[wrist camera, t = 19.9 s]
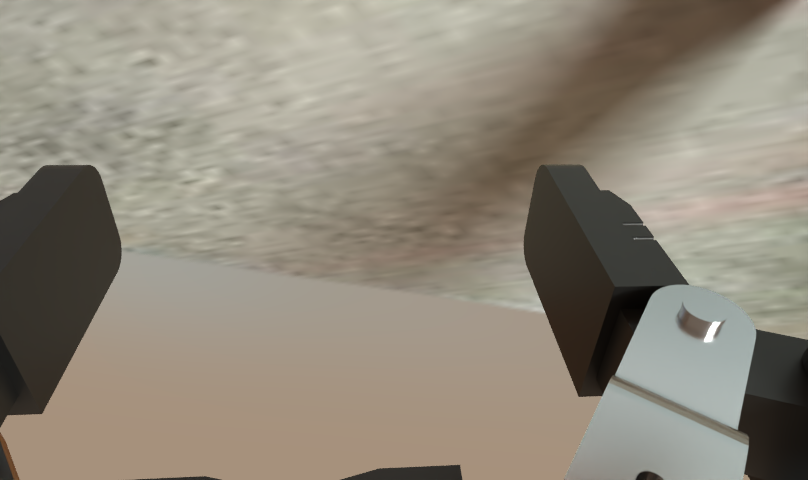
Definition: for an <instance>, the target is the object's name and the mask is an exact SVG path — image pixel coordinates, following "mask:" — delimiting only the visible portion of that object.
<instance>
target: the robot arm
mask: <svg viewBox="0 0 808 480" xmlns="http://www.w3.org/2000/svg"><path fill="white" fill-rule="evenodd" d="M653 237H654V236H653V235H652V234H651V232H650V231H649V230H648V228H647V227H646V226H643V221H642V220H641V219H640V217H639V216H638V215H637V213H636V212H635V211H634V209H633V208H632V206H631V205H630V204H628V203H627V202H625V201H624V200H622V199H621V198H619V197H618V196H616V195H615V194H613V193H612V192H610V191H609V190H601V191H600V190H599V188H598V187H597V185H596V184H595V182H594V181H593V179H592V178H591V176H590V175H589V173H588V172H587V170H586V169H585V168H584V166H582V165H541V166H540V167H539V169H538V171H537V174H536V178H535V183H534V188H533V193H532V198H531V203H530V208H529V214H528V219H527V224H526V229H525V235H524V255H525V261H526V265H527V267H528V270H529V272H530V275H531V278H532V280H533V283H534V285H535V288H536V290H537V293H538V295H539V298H540V300H541V303H542V305H543V308H544V310H545V313H546V315H547V318H548V320H549V323H550V325H551V328H552V330H553V333H554V335H555V338H556V341H557V343H558V345H559V348H560V350H561V353H562V356H563V358H564V360H565V363H566V365H567V368H568V371H569V373H570V376H571V378H572V381H573V383H574V386H575V388H576V391H577V393H578V396H579V397H583V396H584V397H586V396H602V398H601V400H600V402H599V404H598V407H597V409H596V411H595V413H594V415H593V418H592V420H591V422H590V424H589V426H588V428H587V431H586V433H585V435H584V437H583V439H582V441H581V444H580V446H579V448H578V450H577V452H576V454H575V457H574V459H573V461H572V463H571V465H570V468H569V470H568V472H567V474H566V476H565V478H564V480H743V477H744V474H746V475H748V477H749V478H750V480H808V340H805V339H800V338H795V337H790V336H785V335H781V334H776V333H771V332H766V331H761V330H757V329H755V326H754V324H753V322H752V320H751V319H750V317H749V316H748V315H747V313H746V312H745V311H744V310H743V309H742V308H740V307H739V306H738V305H737V304H735V303H734V302H732V301H731V300H729V299H728V298H726V297H724V296H722V295H720V294H718V293H715V292H713V291H710V290H707V289H704V288H701V287H696V286H690V285H689V284H688V283H687V281H686V280H685V279H684V277H683V276H682V274H681V273H680V272H679V270H678V269H677V268H676V266H675V265H674V264H673V262H672V261H671V260H670V258H669V257H668V255H667V254H666V253H665V251H664V250H663V249H662V247H661V246H660V245H659V243H658V242H657V240H653ZM120 262H121V241H120V236H119V233H118V230H117V227H116V223H115V220H114V217H113V214H112V211H111V207H110V204H109V201H108V198H107V195H106V191H105V188H104V185H103V182H102V179H101V176H100V174H99V172H98V171H97V169H96V168H95V167H93V166H91V165H46V166H43V167H42V168H40V169H39V170H38V171H37V173H36V174H35V175H34V176H33V177H32V178H31V179H30V180H29V181H28V182H27V183H26V185H25V186H24V187H23V188H22V189H21V190H20V191H19V192H18V193H13V194H12V195H10V196H8V197H6V198H5V199H3V200H1V201H0V427H1V425H2V423H3V422H4V420H5V418H6V416H7V415H23V414H24V415H26V414H42V413H43V411H44V409H45V407H46V405H47V403H48V402H49V400H50V398H51V396H52V394H53V392H54V390H55V388H56V387H57V385H58V383H59V381H60V379H61V377H62V375H63V373H64V372H65V370H66V368H67V366H68V364H69V362H70V360H71V358H72V356H73V355H74V353H75V351H76V349H77V347H78V345H79V343H80V341H81V339H82V338H83V336H84V334H85V332H86V330H87V328H88V326H89V324H90V323H91V321H92V319H93V317H94V315H95V313H96V311H97V309H98V307H99V306H100V304H101V302H102V300H103V298H104V296H105V294H106V293H107V290H108V289H109V287H110V285H111V283H112V281H113V279H114V277H115V276H116V274H117V272H118V269H119V266H120ZM0 480H19V477H18V474H17V471H16V468H15V466H14V463H13V461H12V458H11V455H10V452H9V449H8V447H7V444H6V442H5V440H4V438H3V436H2V435H1V433H0ZM138 480H220V479H215V478H210V477H205V476H204V477H183V478H160V479H138ZM342 480H462V476H461V469H460V465H450V466H430V467H429V466H427V467H407V468H383V469H376V470H373V471H369V472H366V473H362V474H359V475H356V476H352V477H348V478H345V479H342Z"/></svg>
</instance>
